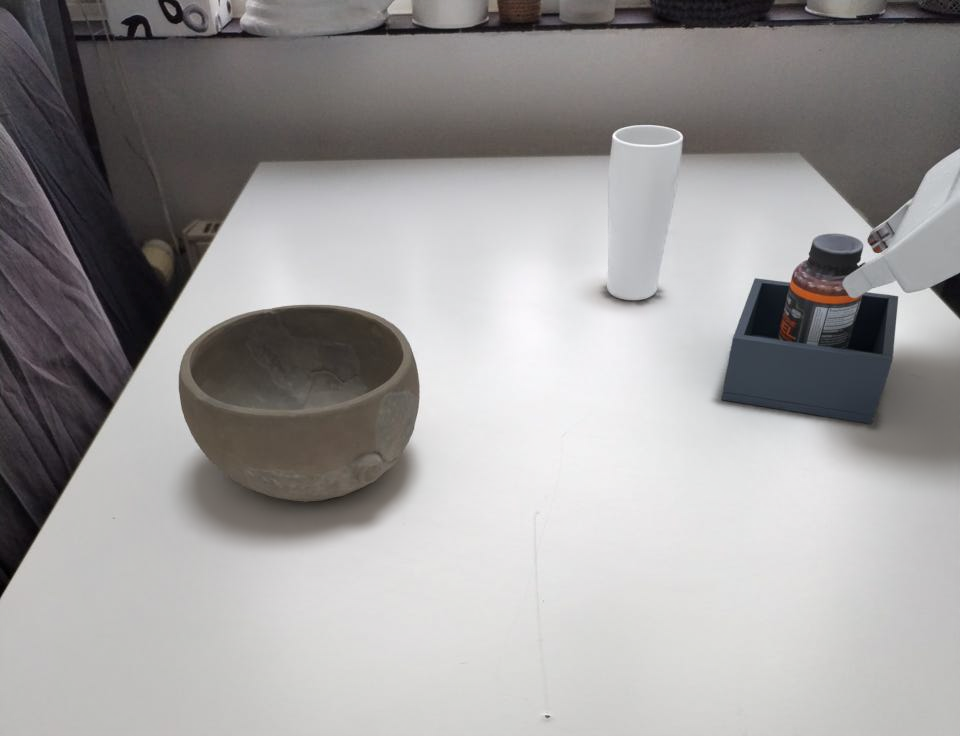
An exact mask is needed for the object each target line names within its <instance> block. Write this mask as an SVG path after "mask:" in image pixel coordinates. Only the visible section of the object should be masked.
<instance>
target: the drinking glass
mask: <svg viewBox="0 0 960 736" xmlns="http://www.w3.org/2000/svg"><path fill="white" fill-rule="evenodd" d="M683 135H684V134H682V132H680V131H679V130H677V129H674V128H671V127H667V126H663V125H654V124H653V125H652V124H640V125H639V124H638V125H637V124H636V125H630V126H629V125H628V126H625V127H621V128H619V129H617V130H615V131H614V132H613V134H612V136H611V137H612V138H611V145H610V155H609V164H608V179H607V181H608V183H607V274H606V275H607V276H606V288H607V291H608V293H609V294H610V295H611V296H613V297H615V298H617V299H620V300H625V301H641V300H646V299H648V298H650V297H652V296H654V295H655V294H656V293H657V290H658V287H659V281H660V272H661V267H662V262H663V257H664V253H665V249H666V248H665V247H666V243H667V239H668V234H669V229H670V224H671V221H672V220H671V219H672V215H673V211H674V205H675V200H676V195H677V192H678V191H677V190H678V186H679V180H680V179H679V178H680V173H681V165H682V157H683V156H682V154H683V143H684V136H683Z"/></svg>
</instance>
